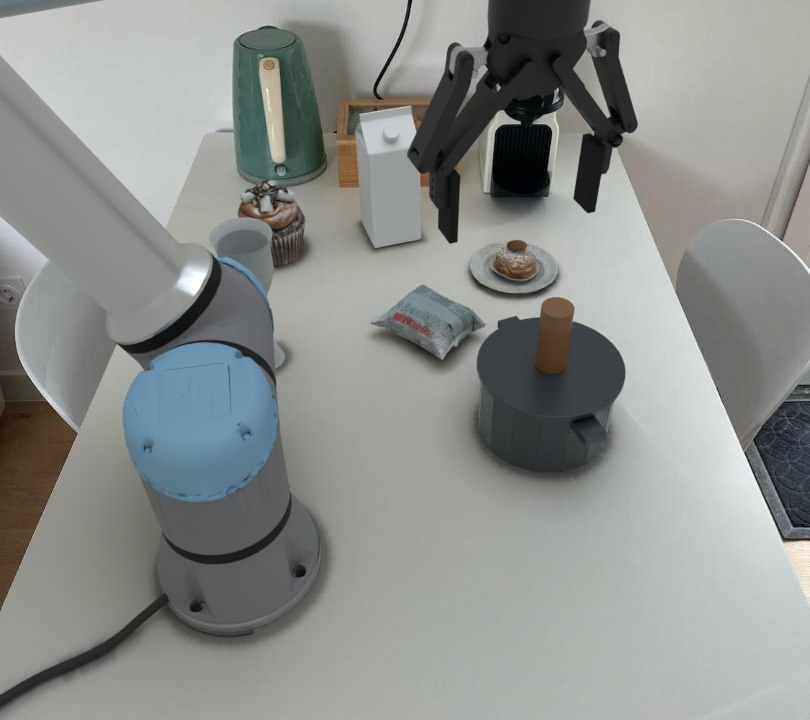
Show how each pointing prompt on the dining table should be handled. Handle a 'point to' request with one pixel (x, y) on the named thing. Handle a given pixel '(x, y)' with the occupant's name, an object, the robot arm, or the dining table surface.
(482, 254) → the pastry
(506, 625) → the dining table surface
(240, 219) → the chalice
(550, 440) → the pot
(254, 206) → the cupcake
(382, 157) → the milk carton
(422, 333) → the packaged food
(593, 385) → the lid
